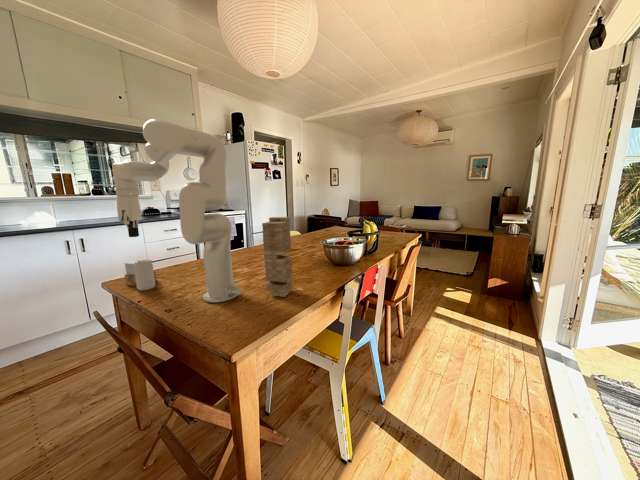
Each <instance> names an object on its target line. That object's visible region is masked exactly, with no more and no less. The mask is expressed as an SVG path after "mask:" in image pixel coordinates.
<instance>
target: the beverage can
mask: <svg viewBox="0 0 640 480" xmlns="http://www.w3.org/2000/svg"><path fill="white" fill-rule="evenodd" d="M137 260H138V261H135V260H134V261H135V262H134V263H135V264H134V265H133V266H134V272H135V278H136V285H137V286H136V288H137V290H139V291H141V292H145V291H149V290H152V289H154V287H155V286H156V281H155V279H154V272H153V270H154V265H152V264H153V261H152V262H151V260H152V259H149V258H145V260H139V259H137Z"/></svg>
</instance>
